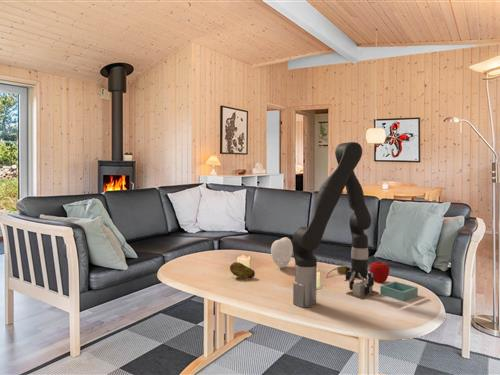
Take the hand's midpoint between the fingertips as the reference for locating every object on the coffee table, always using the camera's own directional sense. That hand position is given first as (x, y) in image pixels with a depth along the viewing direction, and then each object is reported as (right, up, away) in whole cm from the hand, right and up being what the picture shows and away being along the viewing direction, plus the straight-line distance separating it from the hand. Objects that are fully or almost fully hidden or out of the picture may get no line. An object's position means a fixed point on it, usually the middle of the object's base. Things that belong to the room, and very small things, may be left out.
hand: (359, 292), depth 178 cm
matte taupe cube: (0, -1, 0) cm, 1 cm away
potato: (-54, 0, +28) cm, 61 cm away
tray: (+2, -2, +2) cm, 3 cm away
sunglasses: (-1, -1, +30) cm, 30 cm away
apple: (+16, -1, +21) cm, 27 cm away
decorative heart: (-32, +1, +48) cm, 57 cm away
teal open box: (+18, -2, 0) cm, 18 cm away
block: (+4, -1, +3) cm, 5 cm away
